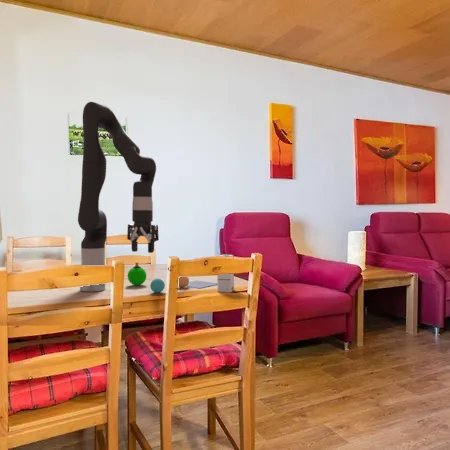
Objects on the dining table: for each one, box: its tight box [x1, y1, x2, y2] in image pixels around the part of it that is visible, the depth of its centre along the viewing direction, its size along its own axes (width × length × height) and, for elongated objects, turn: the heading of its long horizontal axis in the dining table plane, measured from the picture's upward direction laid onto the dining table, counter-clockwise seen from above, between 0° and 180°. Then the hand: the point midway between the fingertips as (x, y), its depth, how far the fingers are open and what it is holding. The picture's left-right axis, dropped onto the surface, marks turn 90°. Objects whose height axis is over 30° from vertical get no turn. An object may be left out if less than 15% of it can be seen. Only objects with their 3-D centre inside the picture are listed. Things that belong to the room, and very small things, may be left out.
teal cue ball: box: [149, 278, 166, 294], centre depth 165 cm, size 6×6×6 cm
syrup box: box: [217, 254, 235, 293], centre depth 169 cm, size 6×6×14 cm
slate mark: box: [186, 280, 218, 289], centre depth 184 cm, size 14×14×1 cm
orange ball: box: [178, 276, 190, 289], centre depth 176 cm, size 6×6×6 cm
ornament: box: [127, 262, 147, 287], centre depth 182 cm, size 8×8×10 cm
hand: (142, 252), depth 158 cm, fingers open, 8 cm apart
